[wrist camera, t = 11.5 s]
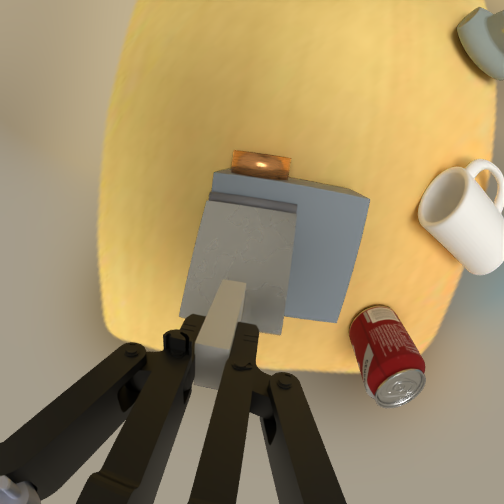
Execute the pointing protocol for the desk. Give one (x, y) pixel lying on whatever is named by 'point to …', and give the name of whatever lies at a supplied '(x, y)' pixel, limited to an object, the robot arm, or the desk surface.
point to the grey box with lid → (307, 235)
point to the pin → (260, 165)
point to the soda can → (386, 357)
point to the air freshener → (484, 40)
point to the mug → (466, 216)
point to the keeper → (242, 262)
